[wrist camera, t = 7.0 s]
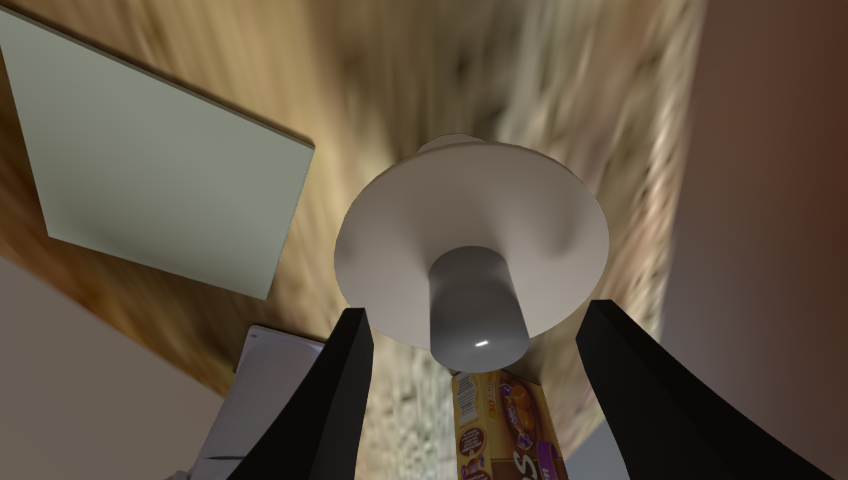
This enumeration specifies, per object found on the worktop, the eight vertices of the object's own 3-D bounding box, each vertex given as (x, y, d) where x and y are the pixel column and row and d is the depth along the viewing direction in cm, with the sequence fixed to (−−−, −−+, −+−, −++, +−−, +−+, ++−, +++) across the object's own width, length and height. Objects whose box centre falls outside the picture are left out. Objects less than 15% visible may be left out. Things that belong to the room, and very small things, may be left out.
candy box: (447, 378, 31) (462, 622, 19) (476, 358, 29) (514, 618, 17) (513, 403, 34) (561, 625, 22) (544, 386, 32) (615, 622, 20)
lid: (496, 361, 17) (511, 437, 14) (306, 301, 14) (276, 382, 11) (663, 222, 11) (743, 300, 9) (409, 75, 8) (400, 120, 6)
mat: (267, 296, 24) (265, 300, 24) (54, 232, 20) (49, 236, 20) (315, 147, 17) (313, 150, 17) (0, 5, 13) (-10, 5, 13)
